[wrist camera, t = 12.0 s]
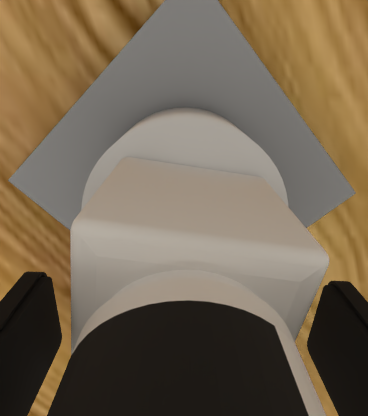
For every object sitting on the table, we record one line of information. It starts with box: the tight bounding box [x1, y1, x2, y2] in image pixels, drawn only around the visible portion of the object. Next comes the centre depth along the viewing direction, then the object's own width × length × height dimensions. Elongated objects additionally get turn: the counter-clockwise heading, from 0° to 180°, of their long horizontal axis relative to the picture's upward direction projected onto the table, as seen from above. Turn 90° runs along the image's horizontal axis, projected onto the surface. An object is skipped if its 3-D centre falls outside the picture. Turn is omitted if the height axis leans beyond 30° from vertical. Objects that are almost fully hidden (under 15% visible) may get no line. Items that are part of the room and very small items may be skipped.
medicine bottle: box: [47, 157, 329, 416], centre depth 10 cm, size 7×7×12 cm
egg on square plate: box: [8, 0, 355, 231], centre depth 19 cm, size 18×18×8 cm
